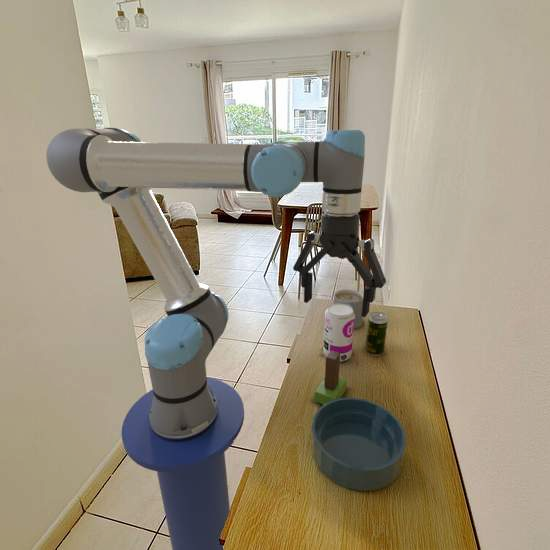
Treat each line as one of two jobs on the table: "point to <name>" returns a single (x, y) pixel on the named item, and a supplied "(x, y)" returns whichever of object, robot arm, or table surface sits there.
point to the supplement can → (339, 330)
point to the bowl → (358, 443)
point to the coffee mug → (351, 303)
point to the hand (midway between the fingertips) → (335, 307)
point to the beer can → (376, 333)
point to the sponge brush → (331, 381)
